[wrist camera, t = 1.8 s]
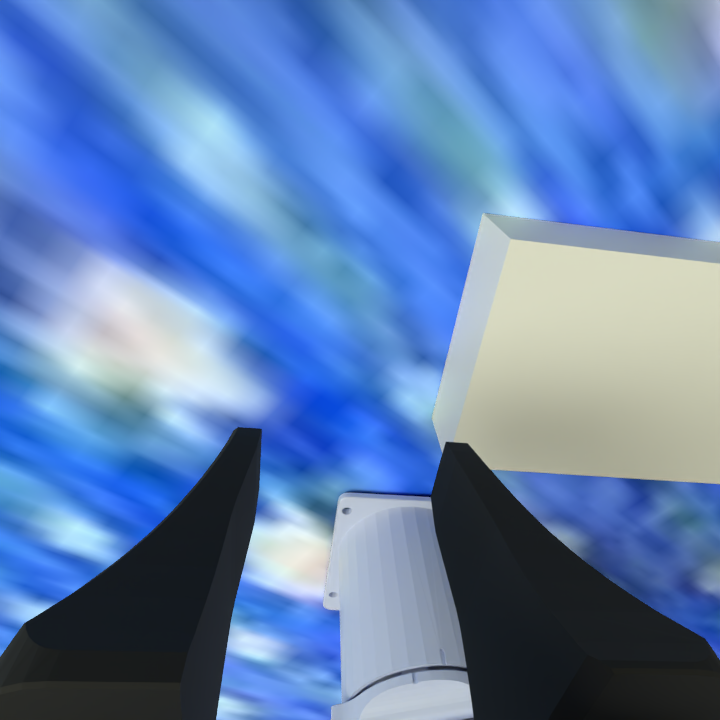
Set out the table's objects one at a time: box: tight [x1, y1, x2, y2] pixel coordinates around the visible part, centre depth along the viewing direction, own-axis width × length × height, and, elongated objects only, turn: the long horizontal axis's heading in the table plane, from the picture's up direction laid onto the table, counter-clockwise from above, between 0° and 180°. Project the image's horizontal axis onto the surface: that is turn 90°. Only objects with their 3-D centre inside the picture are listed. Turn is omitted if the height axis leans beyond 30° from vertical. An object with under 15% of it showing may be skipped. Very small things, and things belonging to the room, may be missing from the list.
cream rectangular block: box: [432, 213, 720, 484], centre depth 22 cm, size 10×14×4 cm
